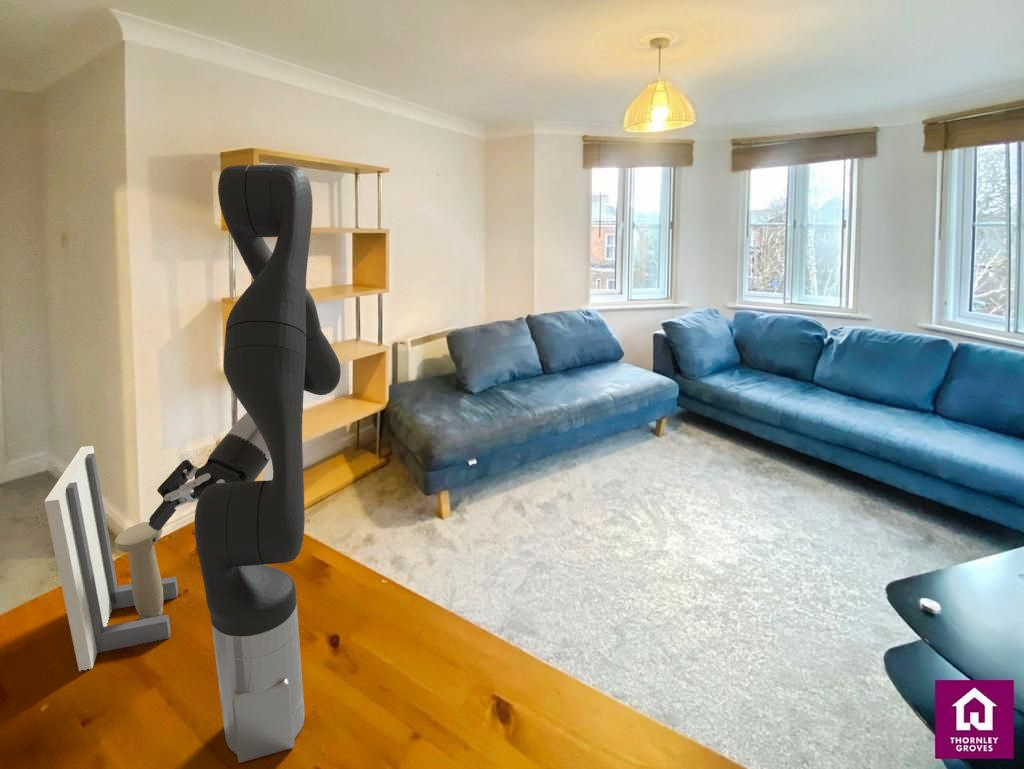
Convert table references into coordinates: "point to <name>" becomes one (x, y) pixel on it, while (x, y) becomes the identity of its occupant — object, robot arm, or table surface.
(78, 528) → the rack
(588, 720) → the table surface
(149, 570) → the handle
